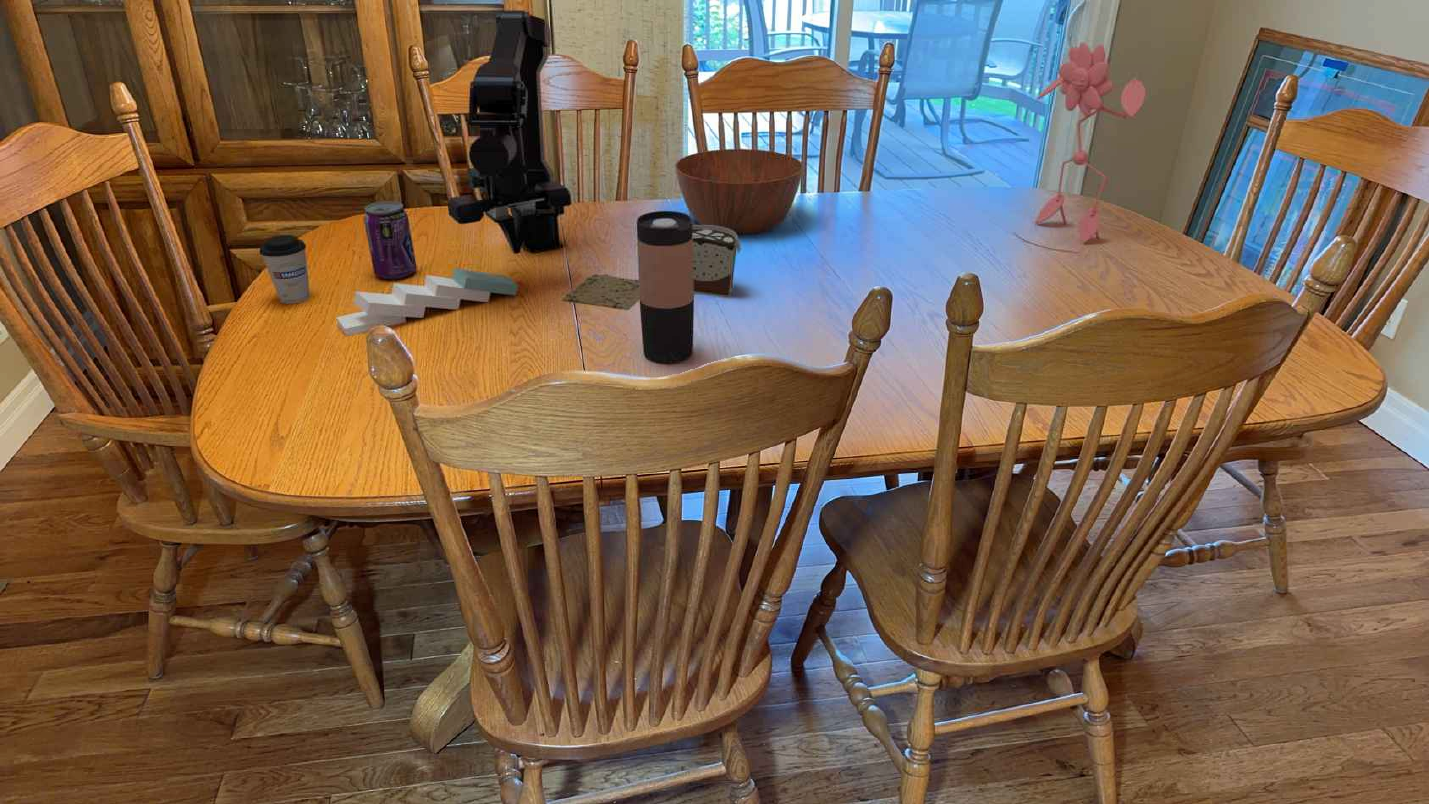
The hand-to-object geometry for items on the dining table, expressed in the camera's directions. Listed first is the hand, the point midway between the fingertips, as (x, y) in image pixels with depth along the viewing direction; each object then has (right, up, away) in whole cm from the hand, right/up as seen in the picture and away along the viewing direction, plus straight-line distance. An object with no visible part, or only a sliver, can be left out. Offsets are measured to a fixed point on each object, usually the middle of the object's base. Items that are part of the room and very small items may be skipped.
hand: (516, 252), depth 151 cm
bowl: (+37, +11, +34) cm, 52 cm away
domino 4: (-5, -6, 0) cm, 8 cm away
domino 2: (-14, -10, -6) cm, 18 cm away
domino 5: (-1, -5, +2) cm, 6 cm away
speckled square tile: (+15, -7, +2) cm, 17 cm away
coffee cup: (-36, -8, 0) cm, 37 cm away
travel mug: (+26, -18, -18) cm, 36 cm away
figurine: (+98, +8, +26) cm, 102 cm away
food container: (+32, -5, +4) cm, 32 cm away
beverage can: (-23, -2, +9) cm, 25 cm away
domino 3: (-10, -8, -3) cm, 13 cm away
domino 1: (-17, -11, -7) cm, 21 cm away
